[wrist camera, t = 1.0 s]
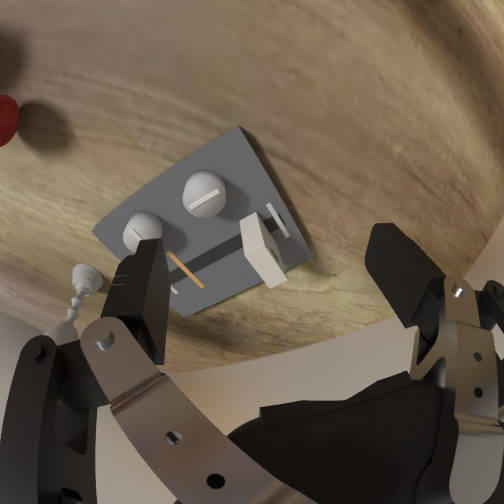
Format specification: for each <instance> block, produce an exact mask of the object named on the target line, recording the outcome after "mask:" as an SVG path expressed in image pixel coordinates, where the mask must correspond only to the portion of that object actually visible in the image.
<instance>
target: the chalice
mask: <svg viewBox="0 0 504 504" xmlns="http://www.w3.org/2000/svg"><path fill="white" fill-rule="evenodd" d="M73 286H74V289H75V290H76V292H77V295H76V297H75V298H72V300H71V301H72V307H71V308H70V309H69V310H68V318H67V320H66V322H65V321H59V322H58V323H56V324H55V325H54V326H52V327H51V328H50V329H49V330H47V331H46V332H45V333H44V334H43V335H47V336H49V337H51V338H52V339H53V340H54V342H55V343H56V344H57V346H58V345H62V344H65V343H69V342H72V341H76V340H79V338H78V332H77V330H76V328H75V327H74V326H73V322H74V320H75V319H76V318H77V317H78V309H79V308H80V307H82V306H83V303H82V298H83V297H84V296H90V295H93V294H94V293H95V292H96V291H98V289H100V288H101V287H102V286H103V278H102V275H101V274H100V272H99V271H98V270H97V269H95V268H94V267H92V266H90V265H87V264H78V265H76V266H75V267H74V268H73Z"/></svg>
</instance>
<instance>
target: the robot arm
mask: <svg viewBox="0 0 504 504" xmlns="http://www.w3.org/2000/svg"><path fill="white" fill-rule="evenodd" d="M365 266H366V269H367V271H368V272H369V274H370V275H371V277H372V278H373V280H374V281H375V283H376V284H377V285H378V287H379V288H380V290H381V291H382V293H383V294H384V296H385V297H386V299H387V300H388V302H389V304H390V305H391V307H392V308H393V310H394V311H395V313H396V314H397V316H398V318H399V319H400V321H401V322H402V324H403V326H404V327H405V328H409V327H412V326H416V325H417V326H418V329H417V331H416V333H415V339H414V348H413V355H412V362H411V368H410V373H409V374H408V372H407V371H404V372H402V373H399V374H396V375H393V376H390V377H388V378H385V379H381V380H378V381H376V382H375V383H374V384H372V385H370V386H369V387H367V388H365V389H364V390H362V391H361V392H359V393H357V394H356V395H354V396H352V397H350V398H349V399H347V400H342V401H307V400H301V401H296V402H290V403H285V404H280V405H272V406H266V407H260V412H259V417H258V418H255V419H253V420H250V421H249V422H246V423H245V424H243V425H241V426H239V427H238V428H236V429H235V430H234V431H232V432H231V433H230V434H229V435H227V436H225V435H224V434H223V433H222V432H221V431H220V430H219V429H218V428H217V427H216V426H215V425H214V424H213V423H212V422H211V421H210V420H209V419H208V418H207V417H206V416H205V415H204V414H202V412H201V411H200V410H199V409H198V408H197V407H196V406H195V405H194V404H193V403H192V402H191V401H190V400H189V399H188V398H187V397H186V396H185V394H184V393H183V392H182V391H181V390H180V389H179V388H178V387H177V385H176V384H175V383H174V382H173V381H172V380H171V379H170V378H169V377H168V376H167V375H166V374H165V373H163V374H162V373H161V372H160V371H159V369H158V368H157V367H156V366H155V365H164V357H165V343H166V331H167V320H168V310H169V300H170V292H171V280H170V273H169V269H168V264H167V260H166V255H165V250H164V246H163V242H162V239H161V238H155V239H145V240H140V241H139V244H138V247H137V250H136V252H135V255H127V256H126V257H125V258H124V260H123V261H122V262H121V263H120V264H119V265H118V268H117V271H116V273H115V277H114V279H113V281H112V286H111V287H110V290H109V293H108V296H107V299H106V302H105V305H104V308H103V311H102V314H101V317H100V319H97V320H95V321H93V322H92V323H90V324H89V325H88V326H87V327H86V328H85V330H84V331H83V333H82V335H81V339H79V340H76V341H72V342H69V343H65V344H62V345H58V346H57V344H56V343H55V342H54V340H53V339H52V338H51V337H49V336H47V335H40V336H36V337H34V338H32V339H30V340H29V341H28V342H27V343H26V344H25V346H24V347H23V349H22V351H21V353H20V356H19V360H18V363H17V366H16V369H15V373H14V376H13V380H12V384H11V388H10V391H9V396H8V400H7V405H6V410H5V415H4V421H3V426H2V433H1V440H0V504H97V496H96V478H95V441H96V419H97V407H100V406H103V405H108V404H111V407H110V410H111V412H112V414H113V416H114V418H115V419H116V421H117V422H118V424H119V425H120V427H121V429H122V430H123V432H124V433H125V435H126V436H127V437H128V439H129V440H130V442H131V443H132V445H133V446H134V447H135V449H136V450H137V451H138V453H139V454H140V455H141V457H142V458H143V459H144V461H145V462H146V463H147V465H148V466H149V467H150V468H151V469H152V471H153V472H154V473H155V474H156V476H157V477H158V478H159V479H160V480H161V481H162V482H163V484H164V485H165V486H166V487H167V488H168V489H169V490H170V491H171V493H173V495H174V496H175V497H176V498H177V500H176V502H175V503H174V504H504V358H503V360H502V361H501V360H500V358H499V356H498V355H497V353H496V351H495V345H494V338H493V334H492V332H491V330H492V329H493V327H494V326H495V325H496V323H497V324H498V326H499V327H500V329H501V330H502V332H503V333H504V286H503V285H501V284H500V283H498V282H496V281H493V280H489V281H487V283H486V284H485V286H484V288H483V290H482V291H476V290H473V288H472V287H471V286H470V284H469V283H468V282H467V281H465V280H464V279H462V278H460V277H457V276H446V275H445V274H444V273H443V272H442V271H441V270H440V268H439V267H438V266H437V265H436V264H435V263H434V262H433V261H432V260H431V259H430V258H429V256H427V254H426V253H425V252H424V251H423V250H421V248H420V247H419V246H418V245H417V244H416V243H415V242H414V241H413V240H412V239H410V238H408V237H407V236H406V235H405V234H404V233H403V232H402V231H401V230H400V229H399V228H398V227H397V226H396V225H395V224H393V223H376V224H375V225H374V226H373V228H372V231H371V235H370V239H369V243H368V247H367V251H366V254H365Z"/></svg>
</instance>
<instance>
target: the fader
mask: <svg viewBox="0 0 504 504" xmlns="http://www.w3.org/2000/svg"><path fill="white" fill-rule="evenodd" d="M239 222H240V228H241V235H242V241H243V248H244V255H245V257H246V258H247V260H248V261H249V262H250V264H251V265H252V266H253V267H254V269H255V270H256V271H257V273H258V274H259V275H260V276H261V278H262V279H263V280H264V282H265V283H266V284H267V285H268V287H269V288H273V287H275V286H277V285H279V284H281V283H283V282H285V281H287V280H288V278H287V275H286V272H285V269H284V265H283V262H282V259H281V256H280V253H279V250H278V246H277V244H276V242H275V241H274V239H273V237H272V236H271V234H270V233H269V231H268V230H267V228H266V227H265V225H264V224H263V222H262V220H261V219H260V217H259V216H258V214H257V213H256V212H255V213H253V214H251V215H249V216H247V217H245V218H244V219H242V220H240V221H239Z"/></svg>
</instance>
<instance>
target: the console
mask: <svg viewBox="0 0 504 504" xmlns="http://www.w3.org/2000/svg"><path fill="white" fill-rule="evenodd" d="M255 212H256V213H257V214H258V216H259V217H260V219H261V220H262V222H263V224H264V225H265V227H266V228H267V230H268V231H269V233H270V234H271V236H272V237H273V239H274V241H275V242H276V244H277V246H278V250H279V253H280V256H281V259H282V262H283V265H284V269H285V270H286V269H288V268H290V267H292V266H294V265H296V264H298V263H300V262H302V261H304V260H306V259H308V258H310V257H312V256H313V255H312V253H311V251H310V248H309V247H308V245H307V243H306V241H305V239H304V237H303V235H302V233H301V232H300V230H299V228H298V226H297V224H296V222H295V221H294V219H293V217H292V215H291V213H290V212H289V210H288V208H287V206H286V204H285V203H284V201H283V199H282V197H281V196H280V194H279V192H278V190H277V189H276V187H275V185H274V183H273V182H272V180H271V178H270V177H269V175H268V173H267V171H266V170H265V168H264V166H263V165H262V163H261V161H260V160H259V158H258V156H257V155H256V153H255V151H254V150H253V148H252V146H251V145H250V143H249V142H248V140H247V138H246V137H245V135H244V133H243V132H242V130H241V129H240V127H239V125H238V126H236V127H234V128H232V129H231V130H229V131H227V132H225V133H224V134H222V135H220V136H219V137H217V138H215V139H214V140H212V141H210V142H209V143H207V144H205V145H204V146H202V147H201V148H199V149H197V150H196V151H194V152H193V153H191V154H190V155H188V156H187V157H185V158H184V159H182V160H181V161H179V162H178V163H176V164H175V165H173V166H172V167H170V168H169V169H167V170H166V171H165V172H163V173H162V174H160V175H159V176H157V177H156V178H155V179H153V180H152V181H150V182H149V183H148V184H146V185H145V186H144V187H142V188H141V189H140V190H138V191H137V192H136V193H134V194H133V195H132V196H131V197H129V198H128V199H127V200H125V201H124V202H123V203H122V204H120V205H119V206H118V207H117V208H115V209H114V210H113V211H112V212H110V213H109V214H108V215H107V216H106V217H104V218H103V219H102V220H101V221H100V222H98V223H97V224H96V225H95V227H94V229H93V230H92V233H93V234H94V235H95V236H96V237H97V238H98V239H99V240H100V241H101V242H102V243H103V244H104V245H105V246H106V247H107V248H108V249H109V250H110V251H111V252H112V253H113V254H114V255H115V256H116V257H117V258H118V259H119V260H120V261H121V262H122V261H123V260H124V258H125V257H126V256H127V255H135V252H136V250H137V247H138V244H139V241H140V240H145V239H155V238H161V239H162V242H163V246H164V250H165V255H166V260H167V264H168V269H169V273H170V280H171V292H170V300H169V305H170V306H171V307H172V308H173V309H174V310H176V311H177V312H178V313H179V314H180V315H182V316H183V317H184V318H185V317H187V316H189V315H191V314H194V313H196V312H198V311H200V310H202V309H204V308H207V307H209V306H211V305H213V304H215V303H217V302H220V301H222V300H224V299H226V298H228V297H230V296H232V295H235V294H237V293H239V292H241V291H243V290H245V289H247V288H249V287H251V286H253V285H256V284H258V283H260V282H262V281H264V280H263V279H262V278H261V276H260V275H259V274H258V273H257V271H256V270H255V269H254V267H253V266H252V265H251V264H250V262H249V261H248V260H247V258H246V257H245V255H244V248H243V241H242V235H241V228H240V222H239V221H240V220H242V219H244V218H245V217H247V216H249V215H251V214H253V213H255Z"/></svg>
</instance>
